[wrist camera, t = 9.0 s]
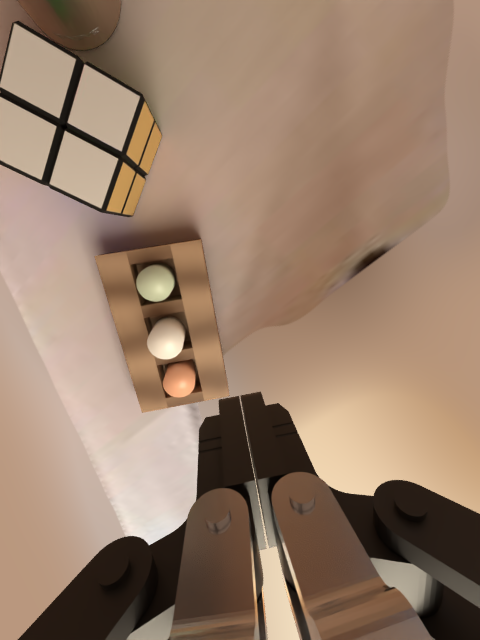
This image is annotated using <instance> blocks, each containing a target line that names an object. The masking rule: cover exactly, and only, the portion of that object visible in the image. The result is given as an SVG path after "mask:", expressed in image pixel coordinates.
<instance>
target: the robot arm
mask: <svg viewBox="0 0 480 640" xmlns="http://www.w3.org/2000/svg"><path fill="white" fill-rule="evenodd" d="M17 1H18V2H19V4H20V5H21V6H22V7H23V8H24V10H25V11H26V12H27V13H28V14H29V16H30V17H31V18H32V19H33V20H34V22H35V23H36V24H37V25H38V26H39V27H40V29H41V30H42V31H43V32H44V33H45V34H46V35H47V36H49V37H50V38H51V39H53V40H54V41H55V42H57V43H59V44H61V45H63V46H65V47H67V48H71V49H75V50H88V49H92V48H96V47H98V46H99V45H101V44H103V43H104V42H105V41H106V40H107V39H108V38H109V37H110V36H111V35H112V33H113V32H114V30H115V28H116V26H117V23H118V20H119V17H120V9H121V0H17ZM241 401H242V407H243V413H244V419H245V425H246V431H247V436H248V442H249V447H248V442H247V436H246V431H245V426H244V420H243V415H242V410H241V405H240V400H239V396H236V397H231V398H226V399H220V400H219V413H220V415H216V416H211V417H206V418H205V420H204V422H203V423H202V425H201V427H200V429H199V450H198V452H199V454H198V476H197V498H196V502H195V503H194V504H193V506H192V508H191V509H190V512H189V514H188V518H187V520H186V521H185V522H184V523H183V524H182V525H181V526H180V527H179V528H178V529H176V530H175V531H174V532H172V533H170V534H169V535H167V536H165V537H163V538H162V539H160V540H158V541H156V542H155V543H153V544H151V545H148V544H147V542H146V541H145V540H143V539H142V538H140V537H136V536H128V537H124V538H120V539H117V540H115V541H113V542H112V543H110V544H108V545H107V546H106V547H104V548H103V549H102V550H101V551H100V552H99V553H98V554H97V555H96V556H95V557H94V558H93V559H92V560H91V561H90V562H89V563H88V564H87V565H86V567H85V568H84V569H83V570H82V571H81V572H80V573H79V574H78V575H77V576H76V577H75V578H74V580H73V581H72V582H71V583H70V584H69V585H68V586H67V587H66V588H65V589H64V590H63V592H61V594H60V595H59V596H58V597H57V598H56V599H55V600H54V601H53V602H52V603H51V604H50V605H49V607H48V608H47V609H46V610H45V611H44V612H43V613H42V614H41V615H40V616H39V618H37V620H36V621H35V622H34V623H33V624H32V625H31V626H30V627H29V628H28V629H27V630H26V632H25V633H24V634H23V635H22V636H21V637H20V638H19V639H18V640H268V638H267V627H266V616H265V605H264V595H263V587H262V586H263V571H262V565H261V559H260V552H259V550H263V549H266V542H265V536H264V532H263V525H262V520H261V513H260V507H259V501H258V495H257V489H258V493H259V498H260V504H261V509H262V514H263V519H264V524H265V529H266V535H267V540H268V545H269V548H271V547H275V546H277V548H278V552H279V558H280V562H281V567H282V573H283V580H284V585H285V588H286V592H287V595H288V598H289V602H290V606H291V609H292V613H293V616H294V620H295V623H296V627H297V630H298V634H299V637H300V640H480V514H479V513H476V512H474V511H472V510H470V509H468V508H466V507H464V506H462V505H460V504H458V503H455V502H453V501H451V500H449V499H447V498H445V497H443V496H441V495H439V494H437V493H435V492H432V491H430V490H428V489H426V488H424V487H422V486H420V485H417V484H415V483H412V482H408V481H403V480H392V481H387V482H385V483H383V484H381V485H380V486H379V487H378V488H377V489H376V491H375V493H374V496H366V495H357V494H349V493H344V492H340V491H338V490H335V489H333V488H331V487H330V486H328V485H327V484H326V483H325V482H324V481H323V480H321V479H320V478H319V476H318V475H317V474H316V472H315V470H314V467H313V465H312V463H311V461H310V459H309V456H308V454H307V452H306V450H305V448H304V445H303V443H302V441H301V439H300V436H299V434H298V433H297V430H296V427H295V425H294V424H293V421H292V418H291V416H290V414H289V412H288V411H287V410H286V409H285V408H283V407H282V406H281V405H280V404H279V403H277V404H272V405H267V406H265V404H264V400H263V397H262V394H261V392H257V393H251V394H246V395H242V396H241ZM249 448H250V452H249ZM250 453H251V457H250ZM251 458H252V462H251ZM252 463H253V468H254V473H255V478H256V483H255V478H254V473H253V468H252ZM256 484H257V489H256Z"/></svg>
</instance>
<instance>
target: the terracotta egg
mask: <svg viewBox="0 0 480 640" xmlns="http://www.w3.org/2000/svg"><path fill="white" fill-rule="evenodd" d="M195 376H196V366H195V363H194V362H193V361H192V360H191V359H189V360H184V361H178V362H173V363H169V364H168V366H167V370H166V373H165V377H164V380H163V387H164V389H165V391H166V392H167V393H168V394H169V395H171V396H173V397H185V396H187V395H189V394H190V393H191V392H192V391H193V389H194V386H195Z"/></svg>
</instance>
